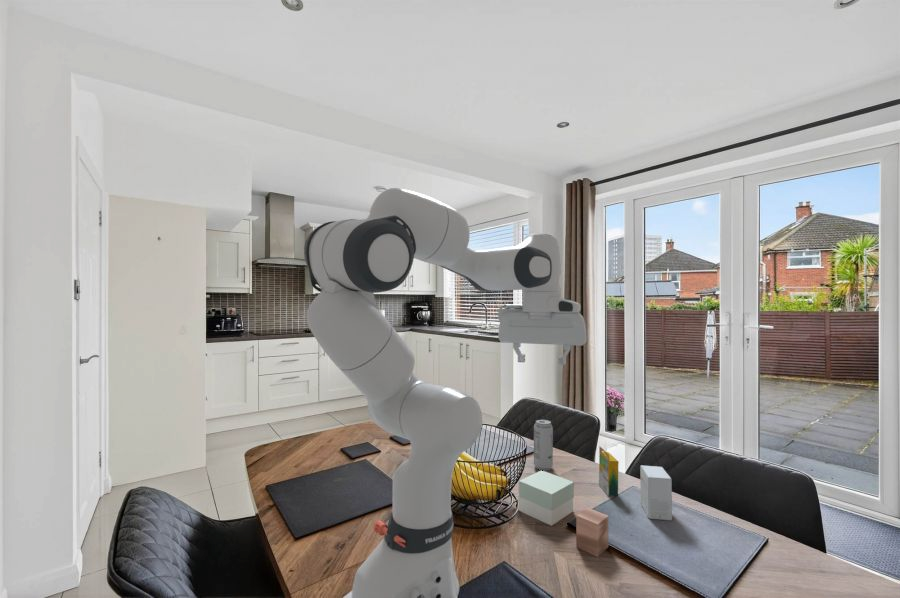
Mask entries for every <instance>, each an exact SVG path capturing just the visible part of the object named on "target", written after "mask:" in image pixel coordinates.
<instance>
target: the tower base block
mask: <svg viewBox="0 0 900 598" xmlns="http://www.w3.org/2000/svg"><path fill="white" fill-rule="evenodd" d="M517 498H518V499H517V500H518V501H517V503H518V505H517V507H518V509H517V510H518V511H519V512H521V513H524V514H525V515H527V516H530V517H532V518H534V519H535V520H538V521H541V522H542V523H545V524H547V525H549V526H551V527H552V526H553V525H555V524H556V523H558V522H560V521H561V520H562V519H564V518H565V517H567V516H568V515H569V514H571V513H572V512H574V498H572V499H570V500H569V501H567V502H565V503H564V504H562V505H560V506H559V507H557V508H555V509H554V510H552V511H551V510H549V509H547V508H545V507H542V506H540V505H538V504H535V503H533V502H531V501H529V500H526V499H524V498H522V497H520V496H519V495H518V496H517Z"/></svg>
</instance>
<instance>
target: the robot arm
mask: <svg viewBox="0 0 900 598" xmlns="http://www.w3.org/2000/svg"><path fill="white" fill-rule="evenodd" d="M370 207H371V208H370V210H369V215H368V216H367V218H366V219H365V218H364V219H363V218H362V219H357V218H355V219H354V218H349V219H341V220H336V221H335V220H334V221H328V222H324V223H323V224H320V225H319V226H317V227H316V228H314V229H313V230H312V231H311V232H310V233H309V235H307V238H306V240H305V244H304V247H303V249H304V250H303V251H304V252H303V254H304V255H303V256H304V259H305V265H306V267H307V269H308V272H309V278H310V282H311V286H312V287H313V289H315V290H316V291H318V292H319V294H318V295H317V296H316V297H315V298H314V299H313V300H312V302H311V303H310V305H309V307H308V309H307V312H306V322H307V326H308V328H309V330H310V331H311V333H312V335H313V337H314V339H316V342H317V343H318V344H319V346H320V347H321V348H322V350H323V351H324V353H325V354H326V355H327V357H328V358H329V359H330V360H331V361H332V362H333V364H335V366H336V367H337V368H338V369H339V370H340V371H341V372H342V373H343V374H344V375H345V376H346V378H347V379H348V380H349V381H350V382H351V383H352V384H353V385H354V387H356V388H357V389H358V391H359V392H360V393H361V394H362V395H363V397H364V398H365V400H366V401H367V413H368V416H369V418H370V420H371V421H372V422H373V423H374V424H375V425H377V426H378V427H379V428H381V429H382V430H384V431H385V432H387V433H388V434H391V435H394V436H397V437H400V438H402V439H406V440H408V441H409V442H410V453H409V456H408V459H406V460H405V461H404V462H402V463H401V464H400V465H398V467H396V469H395V470H394V472H393V476H392V511H391V513H390V516H389V519H388V521H387V524H386V523H384V522H383V521H382V520H377V521H376V522H375V523H374V525H373V531H374V532H375V533H377V534H378V535H379V536H383V537H384V538H383V539H382V540H381V541H380V542H379V543H378V544H377V545H376V547H375V548H374V549H373V550H372V552H371V553H370V554H369V556H368V557H367V558H366V559H365V561H363V562H362V564H361V565H360V566H359V568H358V569H357V570H356V573H355V575H354V578H353V584H352V590H350V591H349V592H348V593H347V594H346V595H344V596H343V597H342V598H458V596H459V593H460V583H459V580H458V576H457V573H456V572H457V571H456V568H455V562H454V561H455V560H454V555H453V554H454V553H453V541H452V537H453V534H454V515H453V514H454V513H453V511H452V508H451V505H452V504H451V503H452V482H453V481H452V478H453V474H454V468H455V466H456V463H457V460H458V459H459V457H460V456H461V455H462V454H463V453H464V452H465V451H467V450H469V449H470V448H471V447H472V446H473V445H474V444H475V443H476V442H477V440H478V438H479V436H480V434H481V432H482V427H483V413H482V409H481V406H480V403H479V402H478V401H477V400H476V399H475V398H474V397H473V396H470V395H468V393H467V394H466V393H464V392H463V391H461V390H458V389H456V388H454V387H450V386H449V387H448V386H443V385H440V384H439V385H438V384H434V383H429V382H426V381H424V380H422V379H420V378H419V377H418V376H416V375H415V374H414V373H413V371H414V368H415V355H414V353H413V351H412V349H410V347H409V346H408V345H407V343H406V342H405V341H404V339H403V338H402V337H401V336H400V335H399V333H398V332H397V331H396V329H395V328H394V327H393V325H392V324H391V322H389V320H388V319H387V318H386V317H385V315H383V313H382V312H381V311H380V309H379V307H378V305H377V302H376V298H375V293H377V294H378V293H383V292H384V293H385V292H388V291H392V290H394V289H396V288H398V287H399V286H401V285H402V284H403V282H405V280H406V279H407V277H408V275H409V274H410V272H411V269H412V265H413V263H414V259H416V260H418V261H421V262H424V263H428V264H430V265H435V266H438V267H441V268H443V269H445V270H448V271H450V272H452V273H454V274H456V275H458V276H461V277H462V278H464V279H466V280H467V282H468V283H469V284H470V285H471V286H473V288H474V289H476V290H477V291H479V292H482V293H488V292H495V291H520V290H521V291H522V292H521V293H522V295H521V297H522V298H521V299H522V304H521V303H520V304H519V303H518V304H516V303H515V304H514V303H513V304H509V303H505V304H503V305H502V306H500V307H499V309H498V312H497V313H498V314H497V319H498V321H499V324H498V325H499V326H498V333H497V334H498V335H497V336H498V340H499V342H500V343H506V344H508V343H509V344H512V348H513V350H514V352H515V354H516V355H517V363H525V362H526V354H525V353H522V351H521V350H520V348H521V344H530V345H531V344H532V345H533V344H534V345H557V346H558V345H559V346H563V351H564V353H563V355H559V356H558V365H562V366H566V365H567V364H566V363H567V362H566V361H567V360H566V359H567V358H566V357H567V356H568V354H569V353H570V351H571V349H572V348H571V346H579V347H580V346H584V345H586V343H587V340H588V339H587V338H588V337H587V328H586V322H585V318H584V317H583V315H582V314H581V313H580V311H581V307H582V306H581V303H579V302H576V301H574V300H570V299H569V298H564V297H562V295H561V294H562V293H561V287H560V276H561V271H562V270H561V269H562V268H561V252H560V251H561V250H560V246H559V242H558V240H557V238H556V237H554V236H552V235H551V234H546V233H531V234H528V235H526V236H525V239H524V241H522V242H521V243H518V244H516V245H514V246H509V247H502V248H491V249H478V250H473V249H471V248H469V243H470V233H471V232H470V227H469V224H468V221H467V219H466V218H465V217H464V215H462V214H461V213H460V212H459V211H458V210H457V209H455V208H453V207H451V206H450V205H448V204H445V203H443V202H441V201H439V200H437V199H435V198H433V197H430V196H428V195H425V194H422V193H419V192H415V191H412V190H410V189H404V188H400V187H398V188H397V187H390V188H388V189H384V191H382V192H380V194H378V196H377V197H376V198H375V200H374V201H373V203H372V205H371V206H370Z"/></svg>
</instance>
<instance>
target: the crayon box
mask: <svg viewBox="0 0 900 598" xmlns="http://www.w3.org/2000/svg"><path fill="white" fill-rule="evenodd" d="M598 446H599V453H598V454H599V459H598V460H599V461H598V462H599V463H598V464H599V465H598V469H599V471H598V485H599V487H601V489H602V490H603V491H604V492H605V494H606V495H607V496H608V497H618V496H619V460H618V459H616V457H615V456H614V455H612V454H611V453H610V452H608V451H606V450H605V449H604V448H603V447H602V446H600V445H598Z"/></svg>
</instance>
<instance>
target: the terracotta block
mask: <svg viewBox="0 0 900 598" xmlns="http://www.w3.org/2000/svg"><path fill="white" fill-rule="evenodd" d="M575 518H576V520H575V521H576V522H575V523H576V533H575V535H576V540H575V542H576V544H575V546H576V548H578V549H580V550H582V551H584V552H587V553H588V554H591V555H593V556H595V557H597V558H599V556H600V555H601V554H602V553H604V552H605V551H607V549H608V548H609V515H607V514H604V513H602V512H599V511H598V510H594V509H592V508H590V507H586V508H584V509H583V510H582V511H580V512H579V513H578V514H577V515H576V517H575Z"/></svg>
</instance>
